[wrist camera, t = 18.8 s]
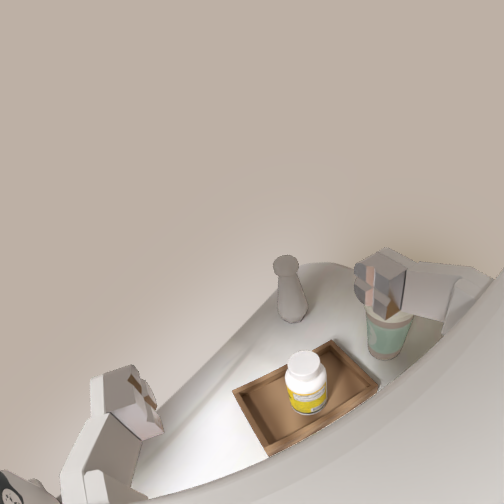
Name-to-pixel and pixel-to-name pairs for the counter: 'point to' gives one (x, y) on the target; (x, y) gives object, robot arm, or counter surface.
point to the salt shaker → (289, 290)
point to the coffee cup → (386, 333)
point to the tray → (279, 407)
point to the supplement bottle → (306, 382)
